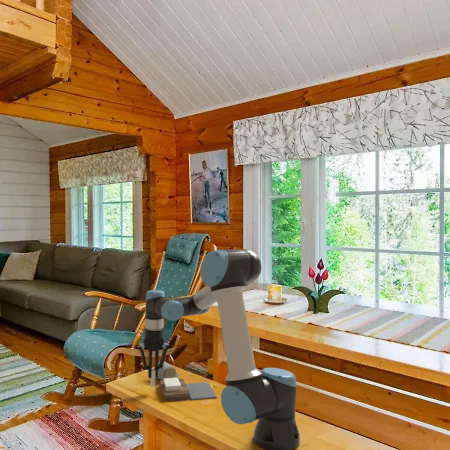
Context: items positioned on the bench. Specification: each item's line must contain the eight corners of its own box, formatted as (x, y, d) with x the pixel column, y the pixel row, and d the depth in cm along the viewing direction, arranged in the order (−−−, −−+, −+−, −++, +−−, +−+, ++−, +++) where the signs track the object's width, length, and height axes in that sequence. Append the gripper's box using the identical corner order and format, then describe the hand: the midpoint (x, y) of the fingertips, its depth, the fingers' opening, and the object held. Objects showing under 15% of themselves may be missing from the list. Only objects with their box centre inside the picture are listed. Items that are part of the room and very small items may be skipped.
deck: (189, 399, 178) (189, 393, 178) (164, 401, 176) (165, 395, 176) (182, 384, 194) (182, 378, 194) (159, 386, 191) (159, 380, 191)
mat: (216, 398, 180) (216, 396, 180) (191, 400, 177) (191, 398, 177) (207, 383, 196) (207, 382, 196) (184, 385, 193) (184, 383, 193)
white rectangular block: (181, 390, 181) (181, 385, 181) (166, 391, 179) (166, 386, 179) (177, 382, 189) (177, 377, 189) (163, 383, 188) (163, 378, 188)
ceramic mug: (163, 384, 193) (164, 367, 193) (152, 379, 198) (153, 362, 198) (182, 379, 200) (183, 362, 200) (171, 374, 206) (172, 358, 206)
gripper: (168, 325, 187) (167, 381, 187) (137, 326, 184) (135, 383, 184) (171, 329, 180) (169, 387, 180) (138, 331, 176) (137, 390, 177)
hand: (152, 385), depth 182 cm, fingers closed
